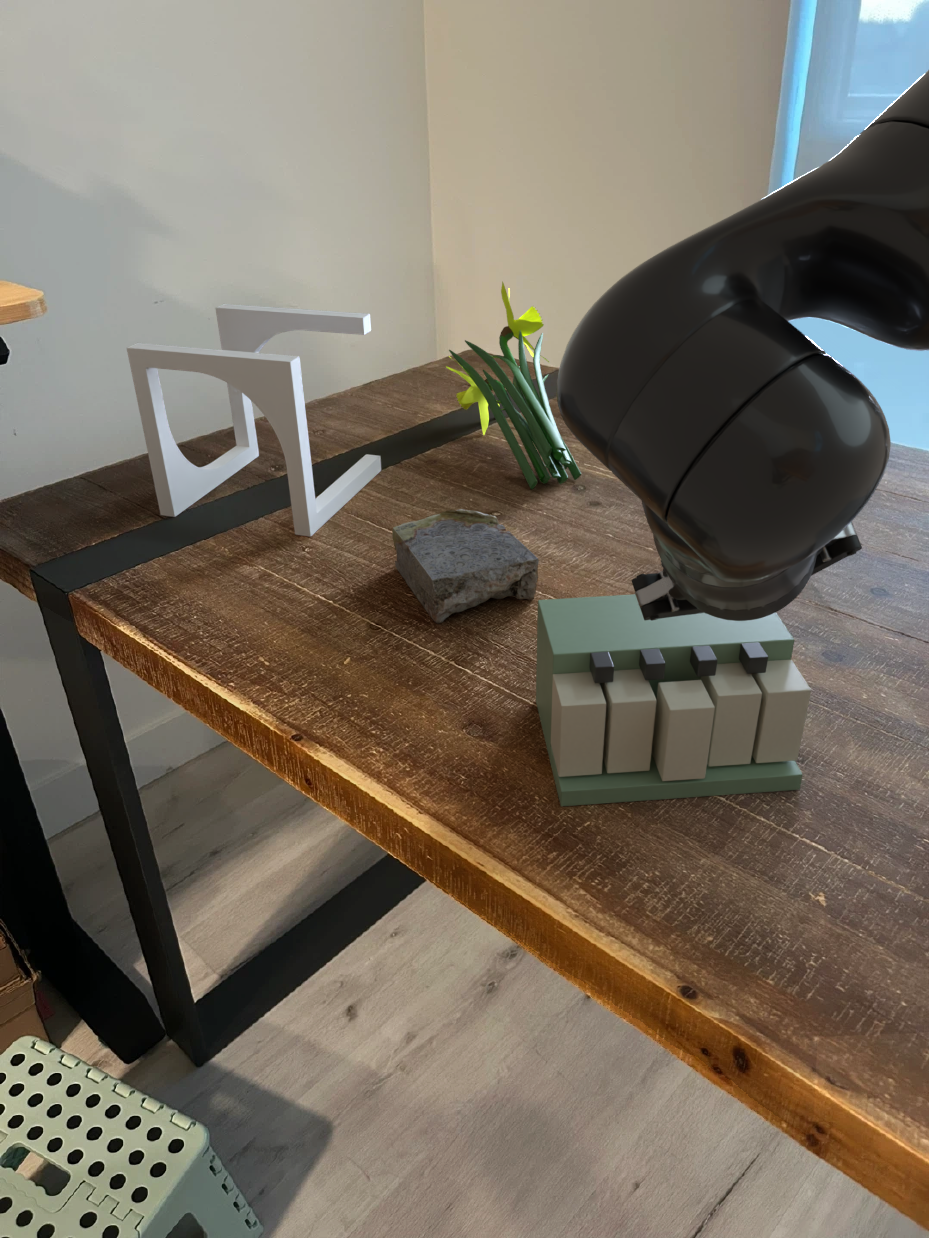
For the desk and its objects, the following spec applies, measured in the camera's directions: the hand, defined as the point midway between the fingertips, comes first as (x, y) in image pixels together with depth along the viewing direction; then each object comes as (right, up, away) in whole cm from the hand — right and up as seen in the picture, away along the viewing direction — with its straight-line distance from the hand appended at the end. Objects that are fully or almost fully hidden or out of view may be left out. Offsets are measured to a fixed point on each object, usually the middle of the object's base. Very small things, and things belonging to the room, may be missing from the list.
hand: (747, 590), depth 63 cm
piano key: (-2, -13, +10) cm, 16 cm away
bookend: (-42, +14, +59) cm, 73 cm away
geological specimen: (-19, +2, +38) cm, 42 cm away
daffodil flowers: (-10, +22, +71) cm, 75 cm away
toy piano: (-3, -12, +15) cm, 19 cm away
